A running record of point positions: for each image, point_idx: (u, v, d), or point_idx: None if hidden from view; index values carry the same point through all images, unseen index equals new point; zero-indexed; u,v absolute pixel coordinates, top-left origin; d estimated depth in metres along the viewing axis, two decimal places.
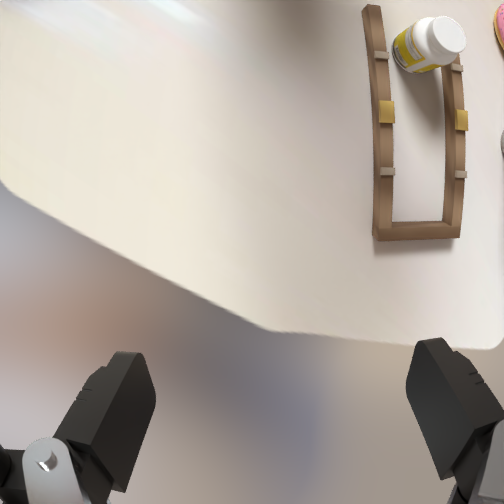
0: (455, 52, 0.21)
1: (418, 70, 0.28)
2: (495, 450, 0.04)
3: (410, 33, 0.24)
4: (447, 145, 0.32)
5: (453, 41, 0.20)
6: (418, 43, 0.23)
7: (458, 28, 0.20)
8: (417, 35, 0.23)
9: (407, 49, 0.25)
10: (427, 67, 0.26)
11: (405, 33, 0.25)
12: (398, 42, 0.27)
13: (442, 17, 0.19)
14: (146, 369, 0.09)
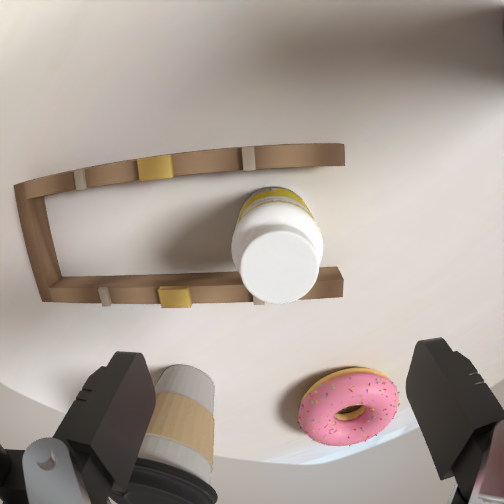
0: (242, 276, 0.16)
1: None
2: (495, 450, 0.04)
3: (285, 201, 0.19)
4: (145, 277, 0.27)
5: (264, 274, 0.16)
6: (258, 210, 0.18)
7: (297, 289, 0.16)
8: (274, 208, 0.17)
9: (260, 198, 0.20)
10: None
11: (291, 198, 0.20)
12: (279, 191, 0.22)
13: (313, 256, 0.16)
14: (146, 369, 0.09)
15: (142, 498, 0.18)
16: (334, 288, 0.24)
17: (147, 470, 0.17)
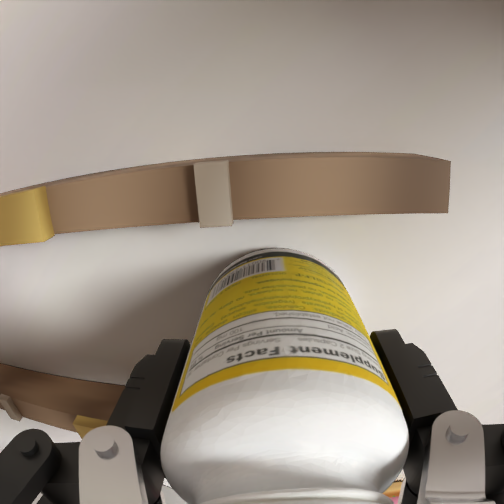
0: None
1: None
2: (437, 447, 0.04)
3: (317, 351, 0.06)
4: (62, 383, 0.14)
5: None
6: (229, 409, 0.05)
7: None
8: (284, 413, 0.04)
9: (242, 315, 0.07)
10: None
11: (327, 313, 0.07)
12: (293, 274, 0.09)
13: None
14: None
15: None
16: None
17: None
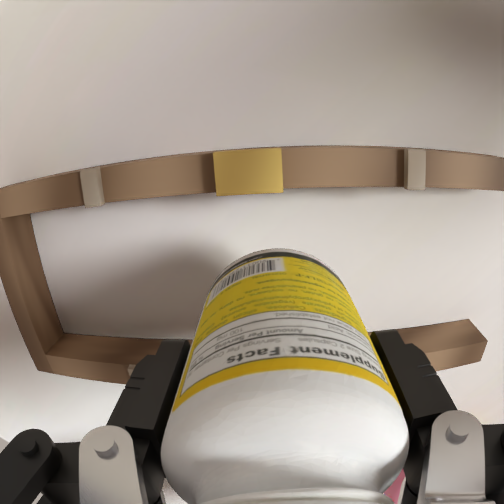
0: None
1: None
2: (437, 447, 0.04)
3: (317, 351, 0.06)
4: None
5: None
6: (229, 409, 0.05)
7: None
8: (285, 413, 0.04)
9: (242, 315, 0.07)
10: None
11: (327, 314, 0.07)
12: (293, 275, 0.09)
13: None
14: None
15: None
16: (475, 352, 0.14)
17: None
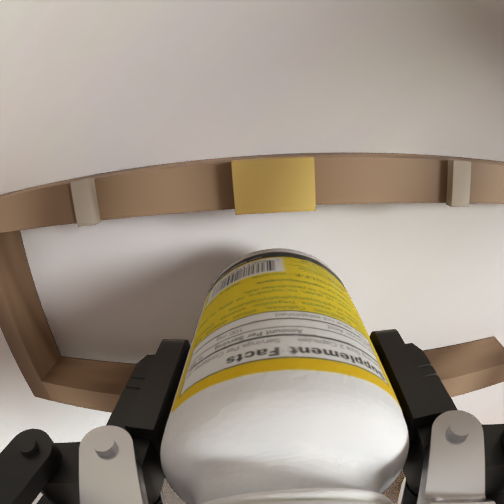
0: None
1: None
2: (436, 447, 0.04)
3: (317, 351, 0.06)
4: None
5: None
6: (228, 410, 0.05)
7: None
8: (284, 413, 0.04)
9: (242, 316, 0.07)
10: None
11: (327, 314, 0.07)
12: (293, 275, 0.09)
13: None
14: None
15: None
16: (502, 372, 0.13)
17: None
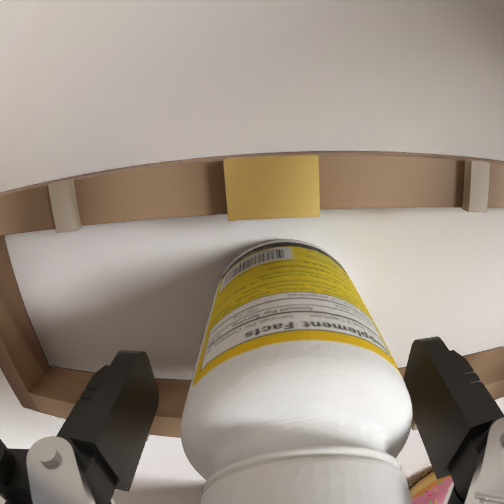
0: None
1: None
2: (491, 449, 0.04)
3: (327, 325, 0.06)
4: None
5: None
6: (250, 376, 0.05)
7: None
8: (301, 377, 0.05)
9: (256, 297, 0.08)
10: None
11: (334, 295, 0.08)
12: (301, 262, 0.09)
13: None
14: (149, 368, 0.09)
15: None
16: None
17: None
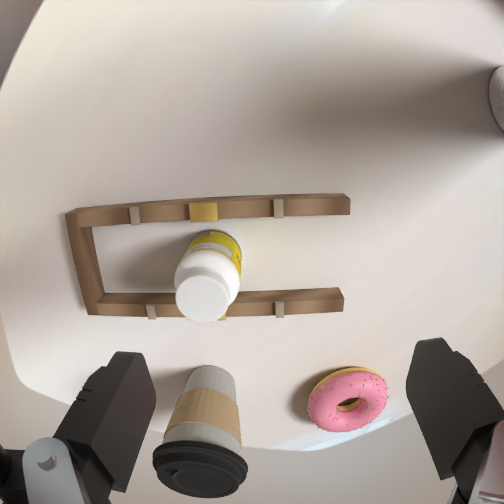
0: (177, 304, 0.23)
1: None
2: (495, 450, 0.04)
3: (212, 248, 0.26)
4: None
5: (191, 303, 0.23)
6: (191, 256, 0.25)
7: (215, 314, 0.24)
8: (201, 256, 0.25)
9: (197, 244, 0.27)
10: None
11: (219, 244, 0.27)
12: (214, 235, 0.29)
13: (223, 292, 0.23)
14: (146, 369, 0.09)
15: (189, 475, 0.24)
16: (337, 305, 0.31)
17: (197, 450, 0.24)
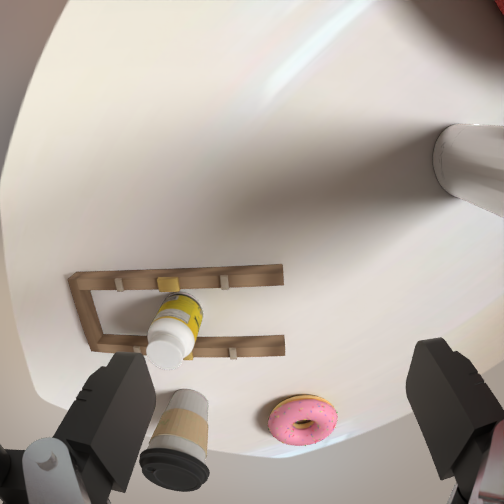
0: (148, 357, 0.32)
1: None
2: (495, 450, 0.04)
3: (173, 315, 0.34)
4: None
5: (157, 357, 0.32)
6: (157, 322, 0.33)
7: (174, 364, 0.32)
8: (164, 323, 0.33)
9: (164, 309, 0.36)
10: None
11: (180, 309, 0.36)
12: (178, 300, 0.37)
13: (177, 351, 0.31)
14: (146, 369, 0.09)
15: (164, 473, 0.32)
16: (279, 351, 0.39)
17: (169, 455, 0.32)
